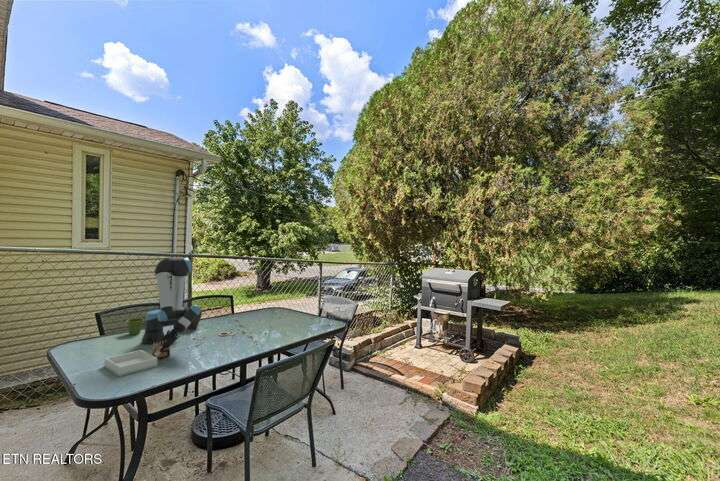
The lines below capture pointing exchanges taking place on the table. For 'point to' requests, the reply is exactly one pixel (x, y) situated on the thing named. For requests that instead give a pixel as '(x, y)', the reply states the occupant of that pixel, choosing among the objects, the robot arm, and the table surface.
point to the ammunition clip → (164, 353)
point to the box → (130, 362)
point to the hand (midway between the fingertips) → (154, 355)
